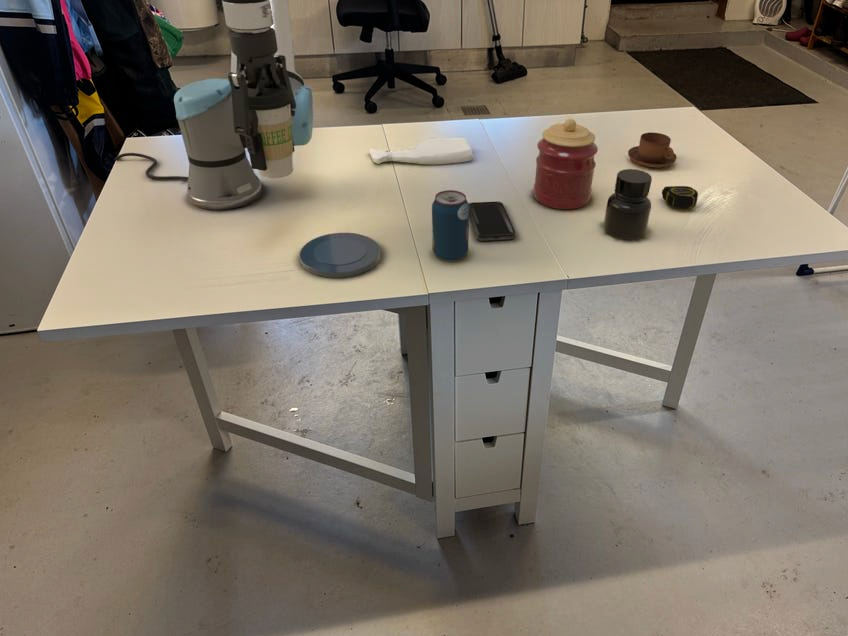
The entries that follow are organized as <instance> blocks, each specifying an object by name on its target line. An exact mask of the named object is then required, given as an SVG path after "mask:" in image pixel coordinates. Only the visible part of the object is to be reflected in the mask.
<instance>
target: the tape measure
mask: <svg viewBox="0 0 848 636" xmlns="http://www.w3.org/2000/svg"><path fill="white" fill-rule="evenodd" d="M661 197H662V199H663V200H664V201H665V202H666V204H667V205H668V206H670V207H672V208H675V209H679V210H690V209H692V208H694V207H695V206H696V204H697V201H698V197H699V192H698V191H697V190H696V189H695V188H693V187H692V186H687V185H674V186H673V185H671V186H670V185H669V186H664V187H663V188H662V190H661Z"/></svg>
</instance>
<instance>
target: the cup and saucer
mask: <svg viewBox="0 0 848 636" xmlns="http://www.w3.org/2000/svg"><path fill="white" fill-rule="evenodd" d="M671 141H672V139H671V137H670V136H668V135H666V134H664V133H660V132H645V133H642V134H641V135H640V138H639V143H638V145H636V146H633V147H631V148H630V149H629V150H628V151H627V155H628V157H629V158H630V159H631V161H633V162H634V163H635V164H638V165H640V166H643V167H648V168H666V167H668V166H671V165H673V164H675V162H676V161H677V158H678V157H677V155H676V153H675V152H674V151H675V150H674V149H673V148H672V147H671V146H670V145H671Z"/></svg>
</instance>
